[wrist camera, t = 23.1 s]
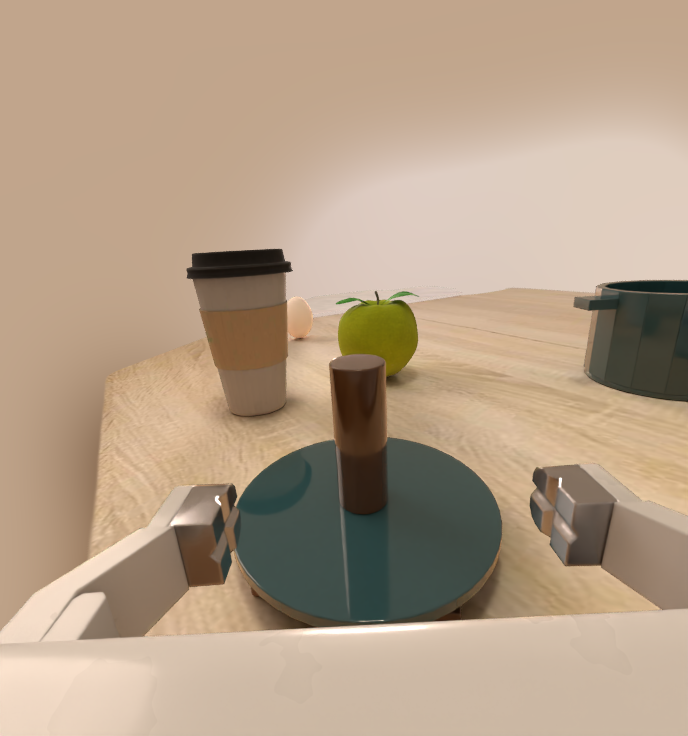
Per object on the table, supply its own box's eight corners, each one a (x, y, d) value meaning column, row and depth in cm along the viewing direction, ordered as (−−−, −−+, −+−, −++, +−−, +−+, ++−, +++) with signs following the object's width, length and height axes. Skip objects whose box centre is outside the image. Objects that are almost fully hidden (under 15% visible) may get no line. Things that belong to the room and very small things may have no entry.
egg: (283, 336, 67) (278, 296, 65) (311, 333, 69) (307, 293, 67) (287, 342, 63) (282, 299, 60) (317, 339, 64) (313, 296, 62)
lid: (567, 626, 13) (606, 410, 11) (197, 666, 13) (141, 447, 10) (446, 443, 26) (450, 324, 23) (257, 459, 26) (240, 338, 23)
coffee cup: (201, 402, 39) (173, 255, 34) (282, 381, 44) (267, 250, 39) (227, 435, 31) (195, 252, 27) (321, 405, 36) (309, 247, 32)
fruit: (422, 387, 40) (424, 293, 36) (337, 389, 40) (331, 298, 37) (413, 362, 48) (414, 285, 45) (343, 364, 49) (339, 288, 46)
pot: (811, 395, 32) (851, 287, 30) (611, 406, 33) (631, 299, 30) (685, 356, 44) (705, 276, 41) (538, 365, 44) (548, 285, 41)
